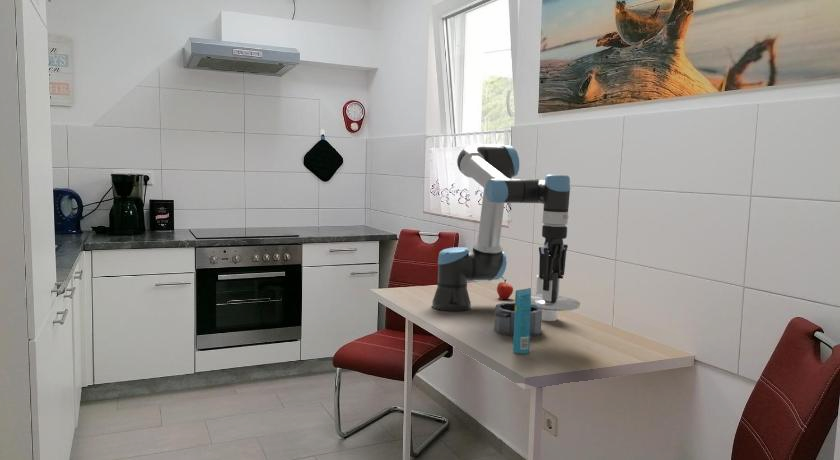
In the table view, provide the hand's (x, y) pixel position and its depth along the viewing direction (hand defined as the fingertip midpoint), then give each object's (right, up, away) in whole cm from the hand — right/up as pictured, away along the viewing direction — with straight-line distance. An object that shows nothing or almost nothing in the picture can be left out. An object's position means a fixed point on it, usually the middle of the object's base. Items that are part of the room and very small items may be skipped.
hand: (550, 299), depth 193 cm
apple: (-5, -8, +70) cm, 71 cm away
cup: (+6, -11, +37) cm, 39 cm away
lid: (0, -1, 0) cm, 1 cm away
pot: (-7, -13, +18) cm, 23 cm away
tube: (-10, -15, -6) cm, 19 cm away
